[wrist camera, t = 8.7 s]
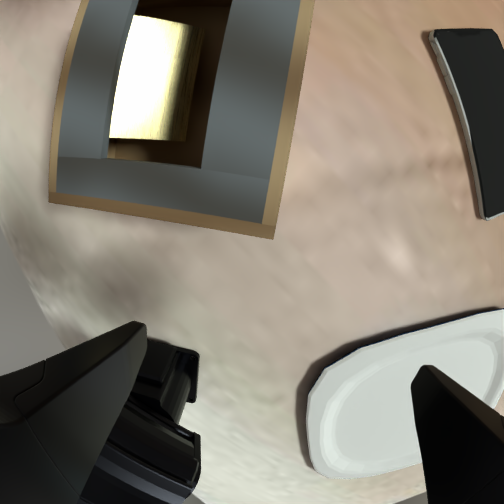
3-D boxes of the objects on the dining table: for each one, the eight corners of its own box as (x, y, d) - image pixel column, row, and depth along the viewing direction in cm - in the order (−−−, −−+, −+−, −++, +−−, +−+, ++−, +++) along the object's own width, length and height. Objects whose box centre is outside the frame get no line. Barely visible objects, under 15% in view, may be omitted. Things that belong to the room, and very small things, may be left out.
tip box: (274, 208, 19) (273, 239, 13) (108, 183, 20) (47, 202, 13) (307, 13, 15) (320, -41, 8) (140, 6, 15) (93, -32, 8)
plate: (528, 286, 20) (537, 293, 18) (473, 434, 28) (477, 441, 26) (295, 342, 23) (296, 355, 22) (311, 477, 31) (312, 487, 30)
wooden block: (185, 141, 16) (96, 137, 13) (168, 139, 18) (92, 136, 15) (205, 29, 13) (121, 13, 10) (185, 40, 15) (112, 29, 13)
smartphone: (483, 222, 18) (428, 29, 13) (475, 218, 19) (421, 34, 14) (539, 196, 16) (496, 29, 12) (531, 194, 17) (488, 32, 13)
